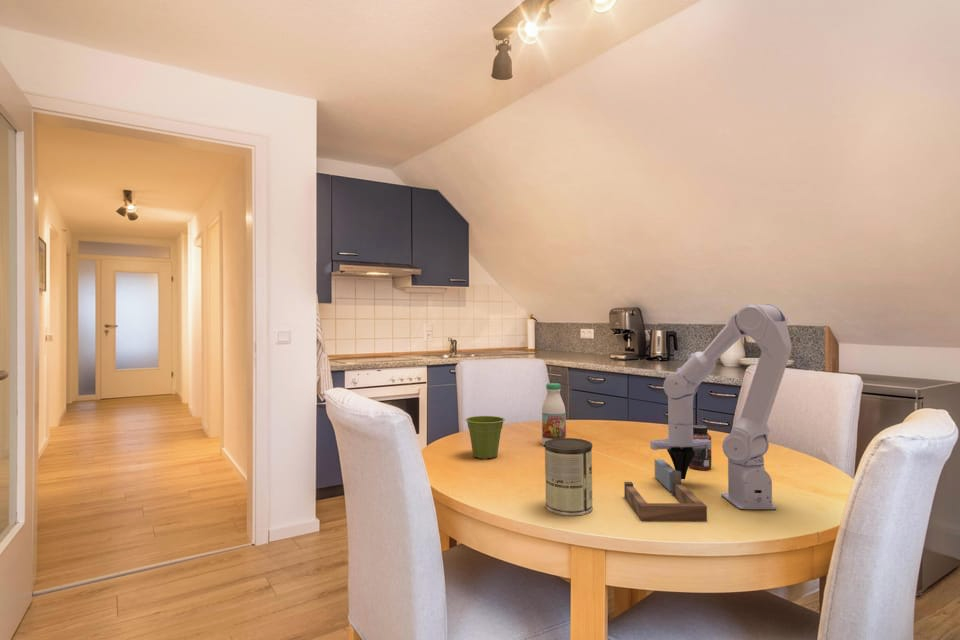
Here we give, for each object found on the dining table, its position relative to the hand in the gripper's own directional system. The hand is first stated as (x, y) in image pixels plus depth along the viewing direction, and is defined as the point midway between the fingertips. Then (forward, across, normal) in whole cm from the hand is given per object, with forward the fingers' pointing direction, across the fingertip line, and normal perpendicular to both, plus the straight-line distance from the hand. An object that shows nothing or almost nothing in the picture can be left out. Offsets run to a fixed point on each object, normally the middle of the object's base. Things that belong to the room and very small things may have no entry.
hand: (680, 478), depth 131 cm
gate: (+1, +4, 0) cm, 4 cm away
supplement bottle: (+2, -11, -14) cm, 18 cm away
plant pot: (+2, +46, -31) cm, 56 cm away
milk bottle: (+2, +24, -43) cm, 49 cm away
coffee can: (+2, +31, +14) cm, 34 cm away
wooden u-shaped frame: (+2, +10, +14) cm, 18 cm away
